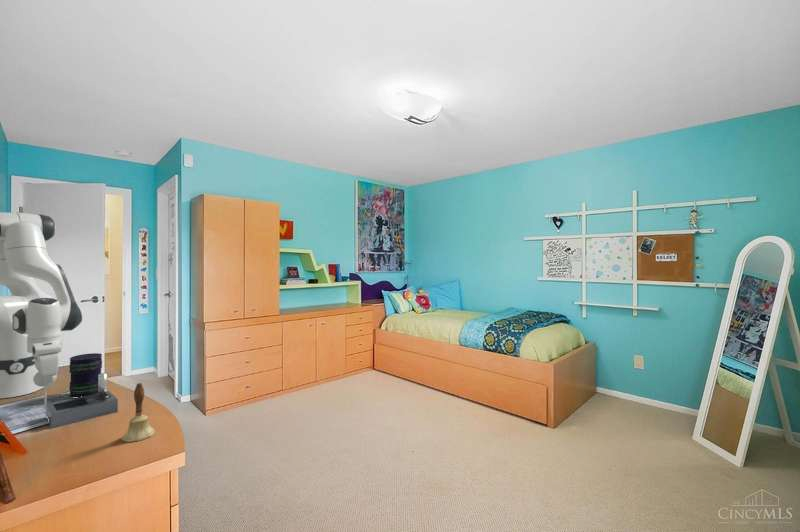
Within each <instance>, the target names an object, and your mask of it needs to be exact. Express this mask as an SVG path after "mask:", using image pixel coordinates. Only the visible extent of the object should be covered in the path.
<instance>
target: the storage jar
mask: <svg viewBox="0 0 800 532" xmlns="http://www.w3.org/2000/svg"><path fill="white" fill-rule="evenodd" d="M102 355H103V354H102V353H95V352H94V353H84V354H83V353H81V354H76V355H74V356H71V357H69V373H70V382H69V387H68V388H69V398H70V397H81V396H87V395H92V394H97V393H98V374H101V373H102V369H103V365H102V364H103V360H102V359H103V358H102V357H103V356H102Z"/></svg>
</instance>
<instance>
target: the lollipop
mask: <svg viewBox="0 0 800 532" xmlns="http://www.w3.org/2000/svg"><path fill="white" fill-rule="evenodd" d="M57 378H58V373H57V374H56V375H55V376H53V379H52V384H53V383H55V382H56V380H57ZM33 381H34V383H35V384H36V385H37V386H41V387H44V377H42V376H41V374H40V373H39V372H37V373H36V374H35V376H34V378H33ZM43 390H44V391H43V394H44V397H43V399H44V400H43V402H44V405H43V408H44V409H43V411H44V410H46V404H47V388H43Z"/></svg>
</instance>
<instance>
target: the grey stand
mask: <svg viewBox="0 0 800 532" xmlns="http://www.w3.org/2000/svg"><path fill="white" fill-rule="evenodd" d="M118 402H119V400H118V398H117V397H116V396H115V395H114V394H113V393H112V392H111V391H109V390H108V373H107V372H101V374H98V393H97V394H92V395H87V396H82V397H78V398H68V399H65V400H58V401H55V402H50V403H46V412H45V417H46V416H47V417H48V419H49V423H48V424H49V426H50V428H51V429H54V428H58V427H62V426H65V425H69V424H74V423H77V422H82V421H86V420H90V419H94V418H99V417H102V416H105V415H106V416H107V415H109V414H113V413H118V412H119V411H118V407H119V406H118V405H119V403H118Z"/></svg>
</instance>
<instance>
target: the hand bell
mask: <svg viewBox="0 0 800 532" xmlns="http://www.w3.org/2000/svg"><path fill="white" fill-rule="evenodd" d="M133 391H134V392H133V399H134V402H135V414H134V416H132V418H131V419H130V420H129V425H128V429H127V431H126V432H125V433H124V435H122V438H121V441H123V442H126V443H132V442H133V443H134V442H140V441H143V440H146V439H149V438H150V437H153V436H154V435H155V434H156V430H155V428H153V427H151V425H150V422H149V417H148V415H144V414H143V401H144V399H145V389H144V385H143V383H142V382H137V383H136V386H135V389H134V390H133Z"/></svg>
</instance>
